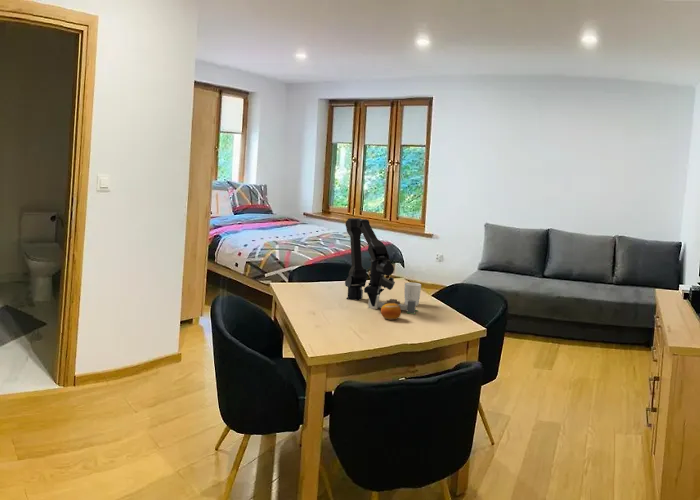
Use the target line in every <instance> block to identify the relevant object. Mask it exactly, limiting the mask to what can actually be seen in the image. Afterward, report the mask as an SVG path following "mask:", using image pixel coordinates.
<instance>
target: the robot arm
mask: <svg viewBox="0 0 700 500" xmlns="http://www.w3.org/2000/svg"><path fill="white" fill-rule="evenodd" d="M345 228H346V229H345V230H346V233H347V234H348V235H349V237H350V252H351V254H350V255H351V267H350V269H349V271H348V276H347V278H346V280H345V281H344V285H345V287H347V297H346V300H351V301H361V300H362V299H363V297H364V295H363V293H366V295H367V296H368V300H369V299H370V302H371V304H372V306H375V303H376V298H377V295H379V297H380V296H381V293H382V292H383V291H384V290H385V289H387V290H389V291H392V289H393V288H394V286H395V283H396V281H395V279H394V278H393V277H392V276H391V275H392V274H394V271H395V268H394V265H393V264H392V263H391V260H390V255H389V253H388V249H387V247H386V245H385V244H384V243H383V242H382V241H381V240H380V239H379V238H377V235H376V234H375V232H374V229H373V228H372V226H371V224H370V220H369V219H367V218H359V217H358V218H357V217H354V218H353V217H351V218H350V217H349V218H348V219H346V221H345ZM362 235H363V237H364V240H366V243H367V245H368V247H367V251H368V253H369V256H370V258H369V259H368V261H369V262H370V269H369V271H370V272H369V274H368V276H367V269H366V268H364V266H363V263H362V262H363V261H362V243H361V236H362ZM385 276H387V277H389V278H387V277H385ZM390 276H391V277H390ZM367 277H369V282H368V285H366V284H367V280H368V278H367ZM382 287H383V288H382Z"/></svg>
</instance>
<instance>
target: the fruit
mask: <svg viewBox="0 0 700 500" xmlns="http://www.w3.org/2000/svg"><path fill="white" fill-rule="evenodd" d="M401 313H402V310H401V309H400V307H399V305H397V304H395V303H388V304H385V305H383V306H382V307H380V315H381V316H382V318H384V319H385V320H389V321H394V320H397V319H399V318H400V317H401Z"/></svg>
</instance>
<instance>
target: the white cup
mask: <svg viewBox="0 0 700 500" xmlns="http://www.w3.org/2000/svg"><path fill="white" fill-rule="evenodd" d="M421 289H422V284H421V283H420V282H410V281H409V282H404V297H403V298H404V305H408V301H409V300H411V301H416V304H415V307H416V306H419V304H420V297H421V292H422V290H421Z"/></svg>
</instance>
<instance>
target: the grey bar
mask: <svg viewBox="0 0 700 500" xmlns="http://www.w3.org/2000/svg"><path fill="white" fill-rule="evenodd" d="M385 302H386V301H385ZM385 302H383V301H380V296H379V295H377V298H376V303H375V306H372V304H371V302H370V299H369V298H368V307H367V309H374V310H377V309H379V308H382V306H383V305H384V303H385ZM398 305H399V307H400V309H401V311H407V309H408V305H406V304H401V303H400V304H398Z"/></svg>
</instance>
